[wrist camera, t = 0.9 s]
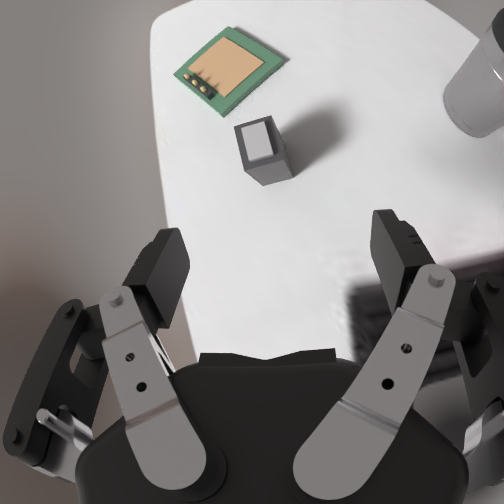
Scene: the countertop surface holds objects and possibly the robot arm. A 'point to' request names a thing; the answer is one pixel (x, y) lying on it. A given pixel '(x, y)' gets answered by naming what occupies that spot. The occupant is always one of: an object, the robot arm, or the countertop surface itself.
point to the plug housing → (263, 151)
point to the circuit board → (228, 69)
